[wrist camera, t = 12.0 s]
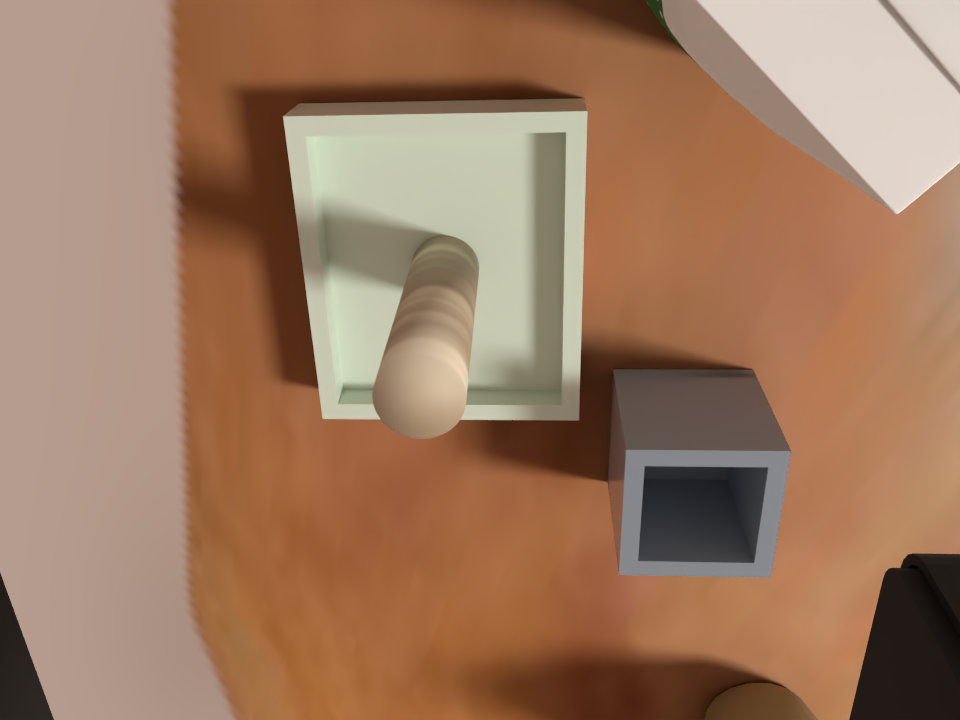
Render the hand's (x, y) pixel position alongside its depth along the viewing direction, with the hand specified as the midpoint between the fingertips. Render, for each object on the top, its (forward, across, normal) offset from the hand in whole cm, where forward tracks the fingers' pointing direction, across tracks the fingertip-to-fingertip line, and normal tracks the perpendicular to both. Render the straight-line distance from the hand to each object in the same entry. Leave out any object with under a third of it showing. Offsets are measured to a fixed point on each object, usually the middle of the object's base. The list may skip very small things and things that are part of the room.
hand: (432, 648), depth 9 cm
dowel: (+29, +3, +7) cm, 30 cm away
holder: (+30, -8, +16) cm, 35 cm away
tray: (+30, +3, +7) cm, 31 cm away
